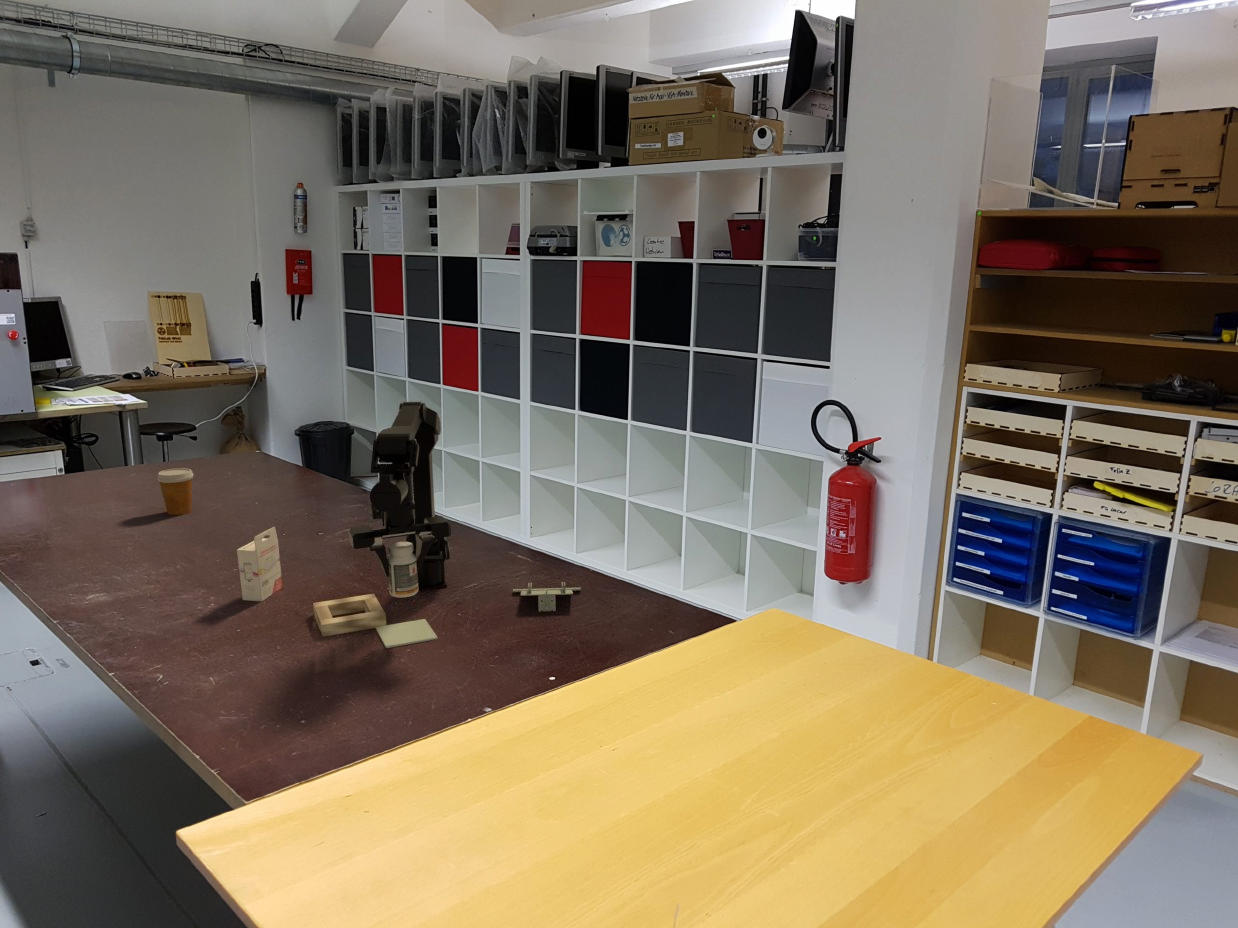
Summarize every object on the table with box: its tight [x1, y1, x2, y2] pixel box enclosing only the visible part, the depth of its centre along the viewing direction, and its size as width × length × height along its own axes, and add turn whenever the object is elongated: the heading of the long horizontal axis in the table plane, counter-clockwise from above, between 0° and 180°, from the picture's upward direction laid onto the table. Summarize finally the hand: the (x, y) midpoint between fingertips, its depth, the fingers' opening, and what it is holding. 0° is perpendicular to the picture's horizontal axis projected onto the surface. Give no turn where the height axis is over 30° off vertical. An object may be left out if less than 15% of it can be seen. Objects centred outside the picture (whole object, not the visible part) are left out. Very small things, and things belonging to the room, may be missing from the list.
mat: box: [375, 618, 438, 649], centre depth 185 cm, size 10×10×1 cm
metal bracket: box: [512, 581, 581, 612], centre depth 202 cm, size 14×6×15 cm
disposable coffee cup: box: [156, 467, 194, 516], centre depth 266 cm, size 10×10×12 cm
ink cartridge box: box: [236, 526, 283, 602], centre depth 204 cm, size 9×5×15 cm, turn 168°
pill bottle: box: [387, 541, 419, 598], centre depth 182 cm, size 6×6×10 cm
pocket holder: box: [312, 593, 387, 637], centre depth 191 cm, size 12×12×2 cm
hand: (402, 573), depth 182 cm, fingers closed on pill bottle, 6 cm apart
